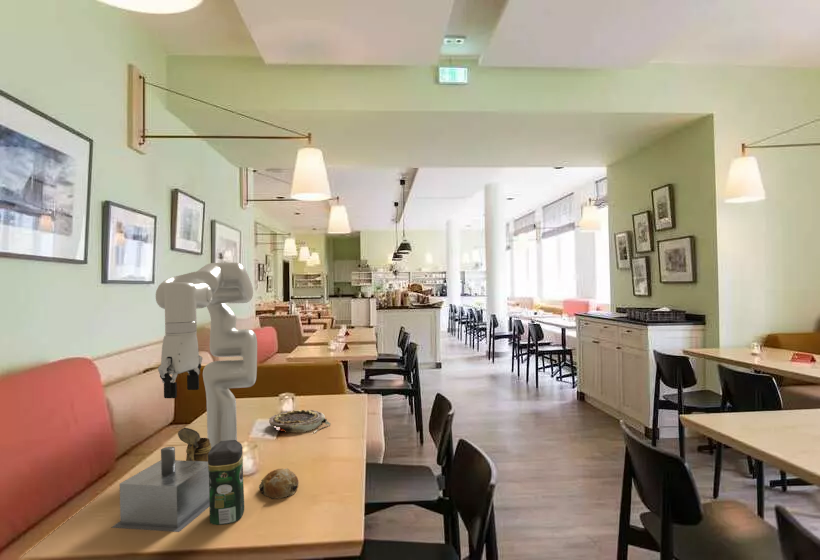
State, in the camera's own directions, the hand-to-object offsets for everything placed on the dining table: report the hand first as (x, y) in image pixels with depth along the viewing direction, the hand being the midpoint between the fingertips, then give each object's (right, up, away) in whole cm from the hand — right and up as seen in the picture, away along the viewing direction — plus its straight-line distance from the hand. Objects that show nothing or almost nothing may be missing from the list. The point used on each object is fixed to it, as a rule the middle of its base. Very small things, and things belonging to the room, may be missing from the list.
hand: (182, 393), depth 125 cm
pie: (+14, -30, +68) cm, 75 cm away
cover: (-2, -29, -4) cm, 30 cm away
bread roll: (+23, -30, +8) cm, 39 cm away
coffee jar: (+14, -30, -6) cm, 34 cm away
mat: (-2, -30, -4) cm, 30 cm away
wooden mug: (-4, -30, +16) cm, 34 cm away
